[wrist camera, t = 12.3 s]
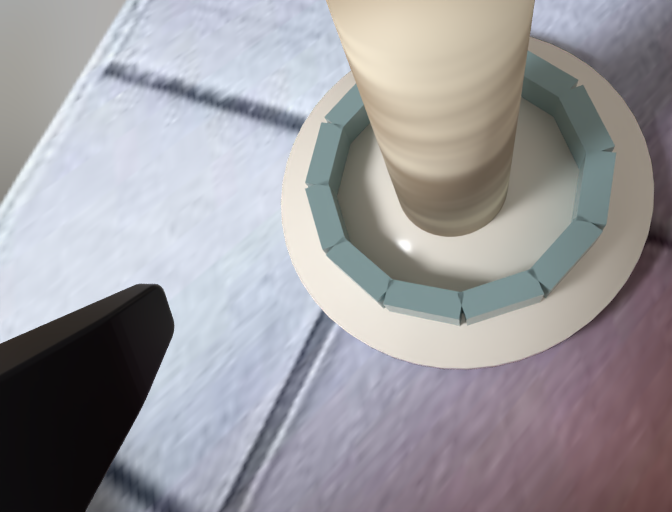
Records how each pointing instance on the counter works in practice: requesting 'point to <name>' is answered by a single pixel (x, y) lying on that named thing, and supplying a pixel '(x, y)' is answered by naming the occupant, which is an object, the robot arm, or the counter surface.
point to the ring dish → (484, 244)
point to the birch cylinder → (441, 99)
